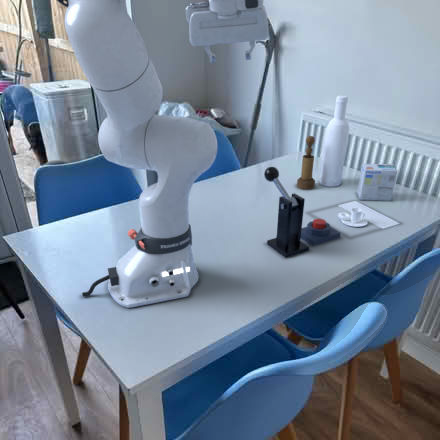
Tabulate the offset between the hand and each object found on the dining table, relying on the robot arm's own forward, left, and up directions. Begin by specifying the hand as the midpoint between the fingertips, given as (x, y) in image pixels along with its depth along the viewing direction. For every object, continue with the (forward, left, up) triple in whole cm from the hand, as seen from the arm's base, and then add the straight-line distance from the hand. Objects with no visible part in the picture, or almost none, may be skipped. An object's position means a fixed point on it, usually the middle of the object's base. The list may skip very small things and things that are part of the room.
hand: (230, 60), depth 113 cm
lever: (+3, -22, -30) cm, 37 cm away
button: (+14, -27, -41) cm, 51 cm away
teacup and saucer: (+32, -23, -44) cm, 59 cm away
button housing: (+14, -27, -44) cm, 53 cm away
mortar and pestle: (+36, +6, -44) cm, 57 cm away
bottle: (+46, +4, -44) cm, 64 cm away
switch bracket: (+3, -28, -44) cm, 52 cm away
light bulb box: (+50, -14, -44) cm, 68 cm away
